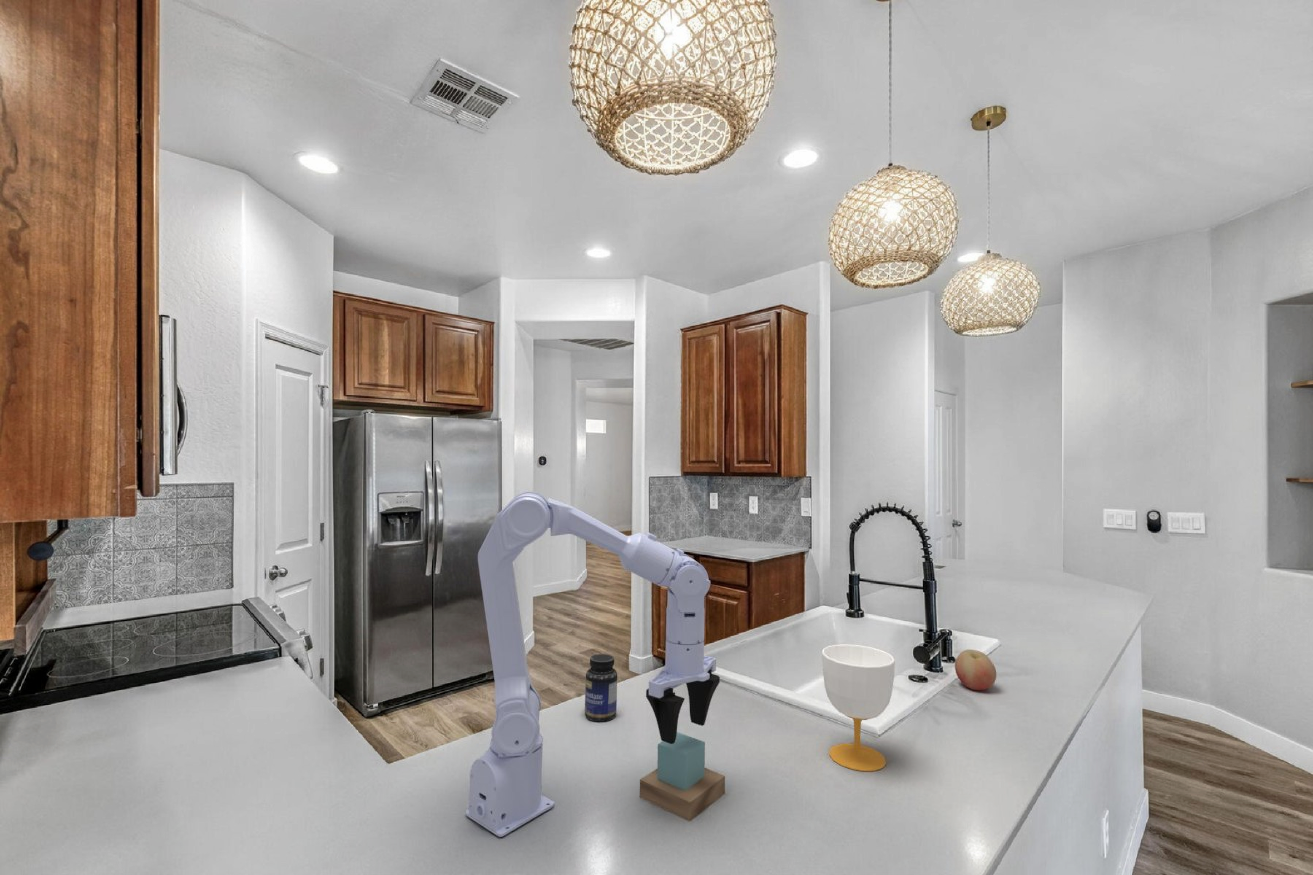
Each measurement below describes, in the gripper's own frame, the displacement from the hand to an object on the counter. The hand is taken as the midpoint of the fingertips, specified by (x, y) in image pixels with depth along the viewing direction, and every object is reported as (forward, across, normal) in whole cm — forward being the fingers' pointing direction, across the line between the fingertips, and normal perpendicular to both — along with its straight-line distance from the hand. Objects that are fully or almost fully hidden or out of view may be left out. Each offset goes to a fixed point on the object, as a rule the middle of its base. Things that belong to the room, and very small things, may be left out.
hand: (683, 732), depth 87 cm
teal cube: (+7, 0, 0) cm, 7 cm away
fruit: (+9, +77, -25) cm, 81 cm away
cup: (+9, +28, -16) cm, 34 cm away
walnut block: (+10, 0, 0) cm, 10 cm away
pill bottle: (+9, +12, +28) cm, 32 cm away
